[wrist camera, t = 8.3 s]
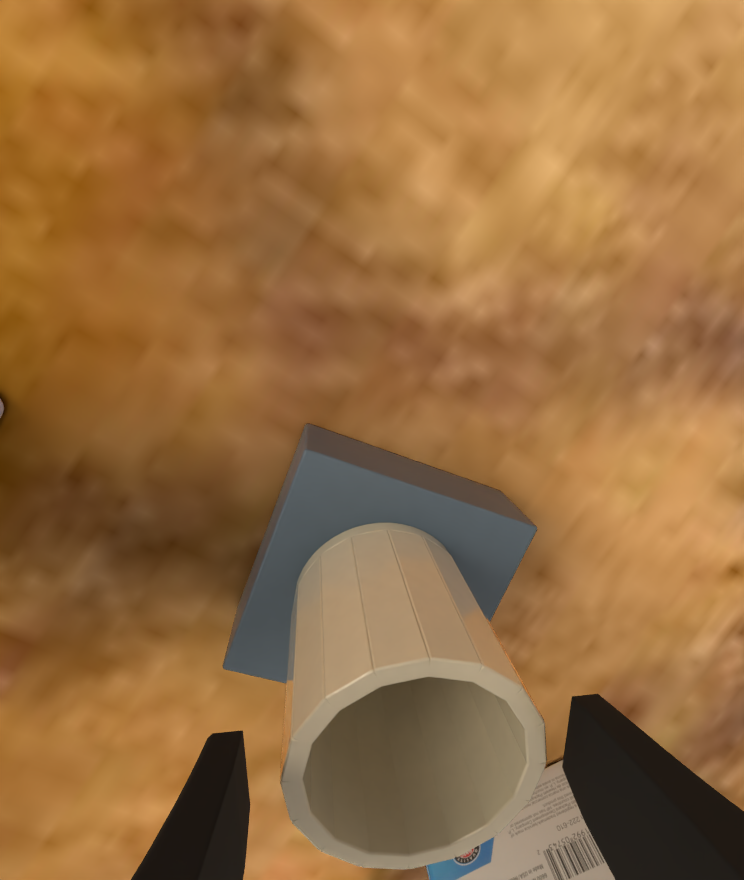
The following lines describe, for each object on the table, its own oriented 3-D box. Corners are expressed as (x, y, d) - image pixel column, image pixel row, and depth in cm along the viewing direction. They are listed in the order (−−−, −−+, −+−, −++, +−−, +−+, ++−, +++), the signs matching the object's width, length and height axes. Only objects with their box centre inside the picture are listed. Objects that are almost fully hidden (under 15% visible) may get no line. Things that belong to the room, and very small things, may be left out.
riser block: (236, 609, 19) (221, 669, 16) (306, 422, 17) (304, 448, 14) (421, 656, 20) (440, 720, 17) (501, 490, 19) (539, 528, 15)
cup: (259, 622, 15) (227, 816, 9) (361, 489, 14) (394, 612, 9) (394, 694, 17) (438, 899, 11) (494, 576, 16) (598, 732, 10)
